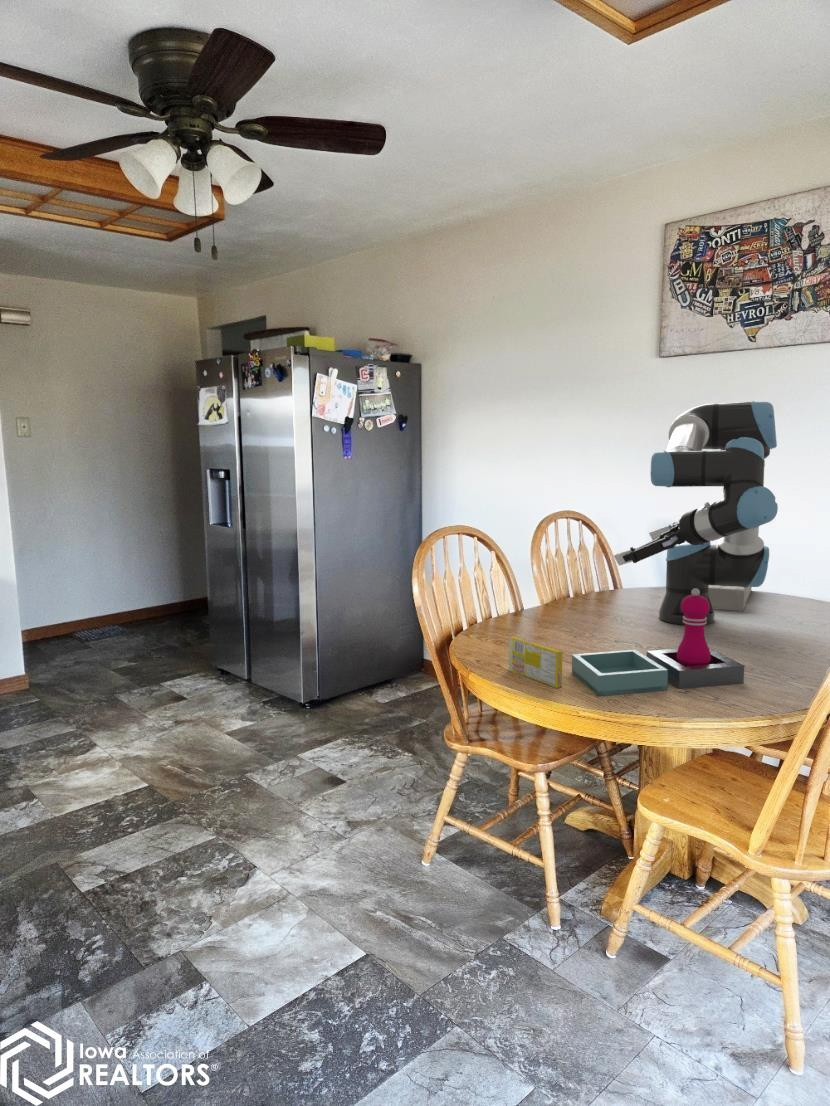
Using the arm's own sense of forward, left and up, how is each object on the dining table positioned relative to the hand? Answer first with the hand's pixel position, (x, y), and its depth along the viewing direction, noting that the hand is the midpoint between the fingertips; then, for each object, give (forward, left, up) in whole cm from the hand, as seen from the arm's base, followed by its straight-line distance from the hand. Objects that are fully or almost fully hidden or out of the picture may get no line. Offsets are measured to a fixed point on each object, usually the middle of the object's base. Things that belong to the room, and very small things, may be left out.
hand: (634, 548), depth 171 cm
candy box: (+28, +9, -28) cm, 40 cm away
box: (-53, -55, -28) cm, 81 cm away
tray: (+11, +15, -27) cm, 33 cm away
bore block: (-7, +15, -27) cm, 32 cm away
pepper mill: (-7, +15, -27) cm, 32 cm away
